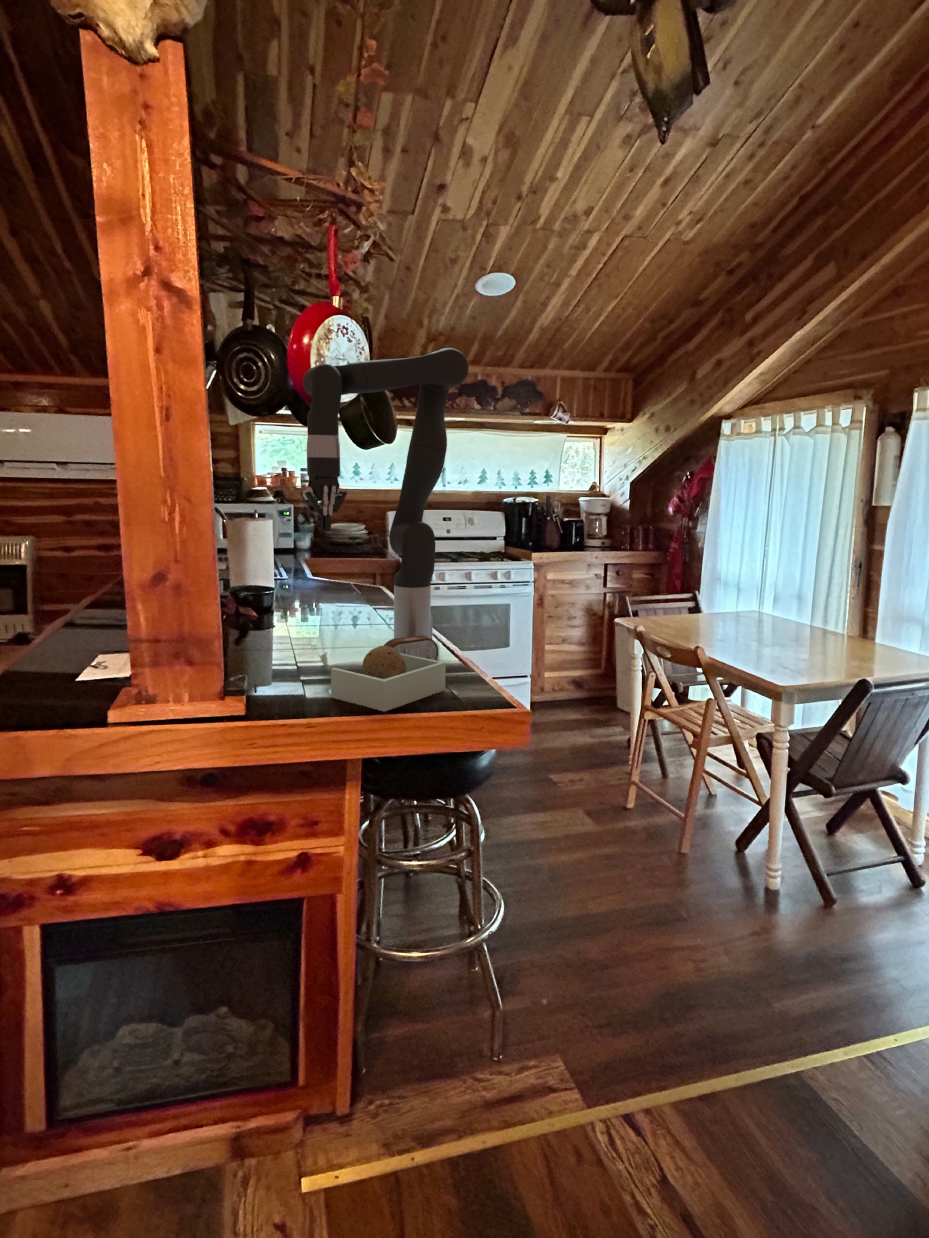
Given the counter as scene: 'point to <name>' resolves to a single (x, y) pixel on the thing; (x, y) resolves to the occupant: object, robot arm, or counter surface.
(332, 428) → the robot arm
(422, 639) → the tin
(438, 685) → the box
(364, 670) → the natural sponge
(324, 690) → the counter surface
